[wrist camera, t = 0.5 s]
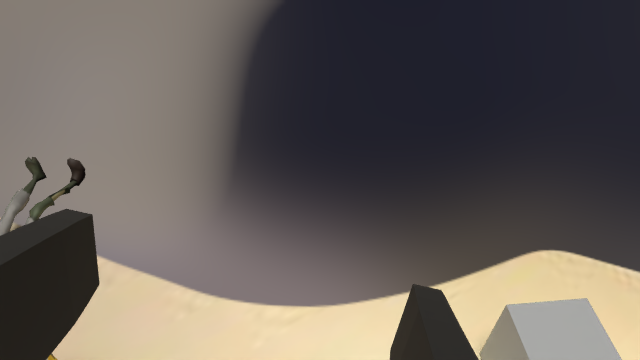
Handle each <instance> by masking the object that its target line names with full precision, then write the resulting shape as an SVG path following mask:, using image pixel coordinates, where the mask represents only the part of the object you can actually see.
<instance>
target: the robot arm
mask: <svg viewBox="0 0 640 360" xmlns="http://www.w3.org/2000/svg"><path fill="white" fill-rule="evenodd" d="M98 286H99V274H98V265H97V255H96V245H95V237H94V226H93V216H92V214H87V213H82V212H78V211H73V210H69V209H65V210H62V211H59V212H56V213H54V214H51V215H48V216H46V217H43V218H41V219H38V220H36V221H34V222H31V223H29V224H27V225H24V226H22V227H19V228H17V229H15V230H12V231H10V232H8V233H5V234H3V235H1V236H0V360H46V359H47V358H48V357H49V356H50V354H51V353H52V352H53V351H54V349H55V348H56V347H57V346H58V344H59V343H60V342H61V341H62V340H63V338H64V337H65V336H66V335H67V333H68V332H69V331H70V329H71V328H72V327H73V326H74V324H75V323H76V321H77V320H78V318H79V317H80V315H81V314H82V312H83V311H84V309H85V307H86V306H87V304H88V303H89V301H90V299H91V297H92V296H93V294H94V292H95V291H96V289H97V287H98ZM390 360H479V359H478V358H477V356H476V354H475V352H474V350H473V349H472V347H471V345H470V343H469V341H468V340H467V338H466V336H465V334H464V332H463V330H462V328H461V326H460V325H459V323H458V321H457V319H456V317H455V315H454V313H453V311H452V309H451V307H450V305H449V303H448V301H447V299H446V297H445V295H444V294H443V292H442V291H441V290H438V289H434V288H429V287H424V286H420V285H415V284H413V286H412V289H411V291H410V294H409V297H408V300H407V303H406V306H405V309H404V312H403V315H402V318H401V320H400V323H399V326H398V329H397V332H396V335H395V338H394V341H393V344H392V347H391V351H390Z"/></svg>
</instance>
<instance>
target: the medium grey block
mask: <svg viewBox="0 0 640 360" xmlns="http://www.w3.org/2000/svg"><path fill="white" fill-rule="evenodd" d="M480 357H481V360H622V359H621V357H620V356H619V354H618V352H617V350H616V349H615V347H614V345H613V343H612V342H611V340H610V338H609V336H608V335H607V333H606V331H605V329H604V327H603V326H602V324H601V322H600V320H599V319H598V317H597V315H596V313H595V312H594V310H593V308H592V306H591V305H590V303H589V301H588V299H587V298H584V299H572V300H560V301H547V302H535V303H523V304H510V305H506V306H505V308H504V310H503V312H502V314H501V316H500V317H499V319H498V321H497V323H496V325H495V327H494V328H493V330H492V332H491V334H490V336H489V338H488V339H487V341H486V343H485V345H484V347H483V349H482V350H481V352H480Z"/></svg>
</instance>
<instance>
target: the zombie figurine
mask: <svg viewBox="0 0 640 360" xmlns="http://www.w3.org/2000/svg"><path fill="white" fill-rule="evenodd" d="M25 164H26V166H27V168H28V169H29V171H30V172H31V173H32V174H33V180H32V181H31V182H30V183H29V184H28V185H27V186H26V187H25V188H24V189H21V190H20V191H17V192H16V194H15V195H14V196H13V198H12V200H11V202H10V204H9V205H8V206H7V208H6V209H5V214H4V216H3V217H2V218H1V220H0V236H1V235H3V234H5V233H8V232H10V229H11V226H12V223H13V220H14V217H15V216H16V215H17V214H18V213H19V212H20V211H21V210H23V208H24V207H25V206H26V204H27V203H28V201H29V196H30V195H31V193H32V191H33V189H34V186H35V184H36V182H38V181H39V180H42V179H45V178H47V177H46V175H45V173H44V172H43V170H42V167H41V165H40V163H39V162H38V160H37V159H36V158H35V157H32V160H31V159H30V158H27V159H26V161H25ZM67 164H68V166H69V167H70V169H71V172H72V177H71V180H70V182H71V183H69V184H68V185H67V186H65V187H64V188H62V189H61V190H59V191H58V192H56V193H54V194H52V195H50V196H49V197H47V198H46V199H45V200H43V201H42V202H39V203H37V204H36V205H35V206H34V207H33V208H32V209H31V210H30V217H29V218H28V219H27V222H26V225H27V224H29V223H31V222H34V221H36V220H38V219H39V217H40V216H41V214H42V213H43V211H44V210H45V209H46V208H48V207H49V206H52V205H54V201H55V200H56V199H57V198H58V197H59V196H61V195H63V194H66V193H70V189H71V188H73V187H74V186H79V185H80V184H81V182H82V181H83V180H84V178H85V168H84V167H83V165H82V164H81V162H80V161H78V160H74V159H71V158H70V159H68V160H67Z"/></svg>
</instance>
